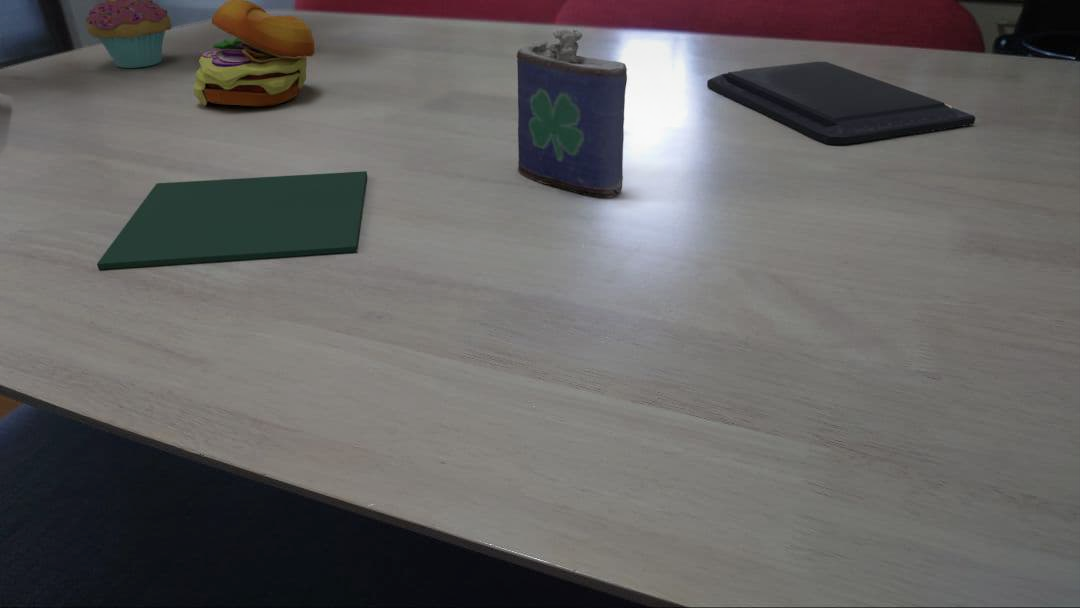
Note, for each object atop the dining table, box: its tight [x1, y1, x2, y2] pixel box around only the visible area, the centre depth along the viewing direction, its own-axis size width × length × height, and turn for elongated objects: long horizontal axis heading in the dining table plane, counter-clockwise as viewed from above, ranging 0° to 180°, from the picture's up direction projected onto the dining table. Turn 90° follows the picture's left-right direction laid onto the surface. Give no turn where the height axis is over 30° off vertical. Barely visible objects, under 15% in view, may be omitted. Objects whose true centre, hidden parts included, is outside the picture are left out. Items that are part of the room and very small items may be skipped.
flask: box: [516, 29, 628, 199], centre depth 57 cm, size 9×3×11 cm, turn 47°
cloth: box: [96, 170, 368, 270], centre depth 55 cm, size 15×13×1 cm
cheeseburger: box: [193, 0, 315, 108], centre depth 78 cm, size 10×11×10 cm
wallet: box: [706, 61, 976, 146], centre depth 75 cm, size 20×2×15 cm
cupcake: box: [85, 0, 173, 69], centre depth 90 cm, size 9×8×12 cm
